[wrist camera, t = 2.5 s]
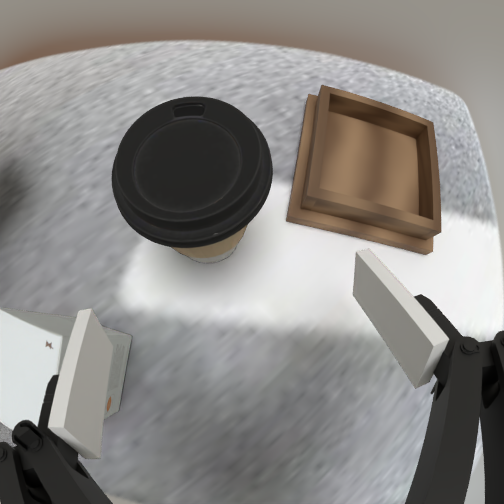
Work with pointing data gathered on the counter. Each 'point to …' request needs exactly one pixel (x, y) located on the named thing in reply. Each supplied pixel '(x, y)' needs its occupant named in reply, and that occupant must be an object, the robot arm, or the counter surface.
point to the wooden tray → (367, 172)
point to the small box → (45, 362)
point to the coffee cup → (192, 176)
